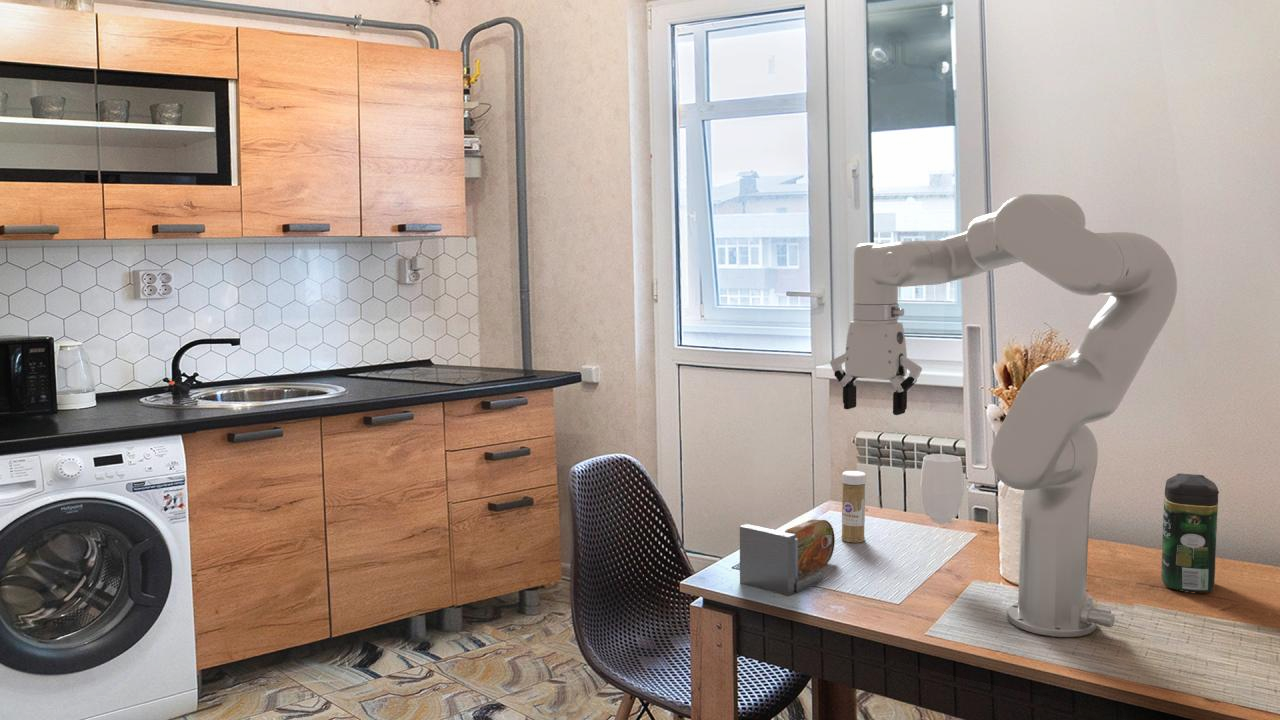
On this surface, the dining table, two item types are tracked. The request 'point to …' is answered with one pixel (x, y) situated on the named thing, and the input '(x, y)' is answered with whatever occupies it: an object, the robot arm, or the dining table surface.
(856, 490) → the sprinkles bottle
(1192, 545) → the coffee jar
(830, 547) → the tin
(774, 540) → the frame
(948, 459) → the cup
